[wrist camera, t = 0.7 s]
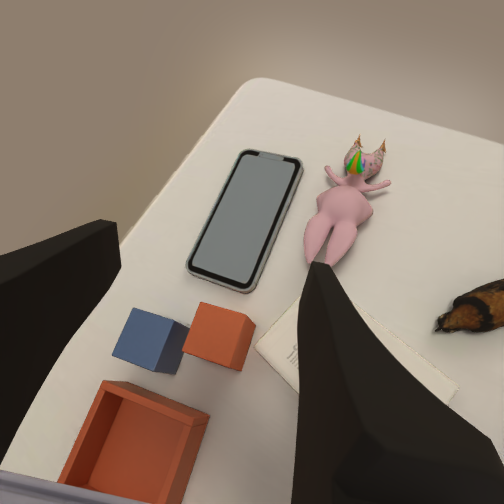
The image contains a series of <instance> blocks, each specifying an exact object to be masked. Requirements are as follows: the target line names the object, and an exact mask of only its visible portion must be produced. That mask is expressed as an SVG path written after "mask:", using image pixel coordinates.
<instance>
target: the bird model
mask: <svg viewBox="0 0 504 504" xmlns="http://www.w3.org/2000/svg"><path fill="white" fill-rule="evenodd" d="M438 324H439V327H438V328H437V329H436V330H435V331H439V330H441V329H442V330H443V331H445V332H452V333H453V332H455V331H458V330H460V329H468V330H470V331H472V332H488V331H491V330H494V329H497V328H499V327H502V326H504V279H502V280H497V281H494V282H491V283H488V284H485V285H483V286H480V287H478V288H476V289H474V290H472V291H470V292H468V293H465V294H463V295H462V296H459V297H457V298H456V299H455V300H454V303H453V310H452V311H451V312H448V313H445V314H442V315H441V316H439V318H438Z"/></svg>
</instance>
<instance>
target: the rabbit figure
mask: <svg viewBox="0 0 504 504" xmlns="http://www.w3.org/2000/svg"><path fill="white" fill-rule="evenodd" d="M384 142H385V140H384ZM384 142H383V144H382V145H381V147H380V148H379V149H378V150H376V151H375V152H373V153H372V154H366V153H362V152H361V150H360V147H362V146H361V143H360V134H359V138H358V140H356V141H355V143H354V145H353V146H352V147H351V149H350V150H349V151H348V153H347V155H346V156H345V159H344V165H345V168H346V170H347V173H348V175H347V176H346V177H344V178H340V177H338V176H336V175H335V174H334V173H333V172H332V170H331V167H330V166H325V171H326V173H327V174H328V176H329V177H330V178H331V179H332V180H333V181H334V182H335V183H336V184H337V185H339V186H336V187H333V188H331V189H329V190H327V191H325V192H323V193H321V194H320V195H318V197H317V199H316V200H317V207H318V214H316V215H315V216H313V217H312V218H311V219H310V220H309V221H308V223H307V226H306V229H305V233H304V252H305V258H306V261H307V262H308V263H309V264H310V263H311V262H312V261H313V259H314V257H315V256H316V255H317V253H318V252H319V250H320V249H321V247H322V245H323V243H324V241H325V240H326V238H327V235H328V233H329V231H330V229H331V228H334V230H333V232H332V235H331V238H330V240H329V243H328V246H327V250H326V256H325V264H329V265H330V267H332V266H333V265H334V264H335V263H336V262H337V261H338V260H339V259H340V258H341V257H342V256H343V255H344V254H345V253H346V252H347V251H348V250H349V248H350V247H351V245H352V244H353V243H354V241H355V239H356V237H357V228H356V227H357V226H358V225H359V224H361V223H362V222H364V221H365V220H366V219H368V218H369V217H370V216H372V214H373V209H372V207H371V205H370V204H369V202H368V201H367V200H366V198H365V197H364V196H363V195H362V193H361V192H369V191H374V190H378V189H381V188H384V187H387V186H389V185H390V184H391V181H390V180H385V181H383V182H382V183H379V184H375V185H369V184H366V183H365V180H366V179H367V178H369V177H371V176H373V175H374V174H376V173H377V172H378V171H379V170H380V168H381V166H382V163H383V151H384V152H385V151H386V149H385V143H384ZM385 153H386V152H385Z"/></svg>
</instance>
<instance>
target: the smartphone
mask: <svg viewBox="0 0 504 504" xmlns="http://www.w3.org/2000/svg"><path fill="white" fill-rule="evenodd" d="M302 172H303V163H302V161H301V160H300V159H299V158H296V157H291V156H286V155H280V154H275V153H270V152H265V151H259V150H254V149H245V150H243V151H241V152H240V153H239V155H238V157H237V159H236V161H235V163H234V165H233V167H232V169H231V171H230V173H229V175H228V177H227V179H226V181H225V183H224V185H223V187H222V189H221V191H220V193H219V195H218V197H217V200H216V202H215V204H214V206H213V208H212V210H211V212H210V214H209V216H208V218H207V220H206V222H205V224H204V226H203V228H202V230H201V232H200V234H199V236H198V238H197V240H196V242H195V244H194V246H193V248H192V250H191V252H190V255H189V257H188V259H187V261H186V269H187V271H188V272H189V273H190V274H192V275H194V276H196V277H199V278H202V279H205V280H207V281H210V282H213V283H216V284H219V285H221V286H224V287H227V288H230V289H232V290H235V291H238V292H241V293H249V292H251V291H252V290H253V289H254V288H255V286H256V284H257V282H258V279H259V277H260V274H261V272H262V270H263V267H264V265H265V262H266V260H267V257H268V255H269V252H270V250H271V248H272V245H273V243H274V240H275V238H276V235H277V233H278V230H279V228H280V226H281V223H282V221H283V218H284V216H285V213H286V211H287V209H288V206H289V204H290V201H291V199H292V196H293V194H294V191H295V189H296V187H297V184H298V182H299V179H300V177H301V174H302Z"/></svg>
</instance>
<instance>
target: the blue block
mask: <svg viewBox="0 0 504 504" xmlns="http://www.w3.org/2000/svg"><path fill="white" fill-rule="evenodd" d="M189 330H190V328H188V327H186V326H184V325H182V324H180V323H178V322H176V321H174V320H171V319H168V318H165V317H162V316H159V315H156V314H153V313H149V312H146V311H143V310H140V309H137V308H133V309H132V311H131V313H130V315H129V317H128V320H127V322H126V324H125V326H124V329H123V331H122V333H121V335H120V337H119V340H118V342H117V344H116V346H115V348H114V351H113V353H112V356H114V357H117V358H119V359H122V360H125V361H127V362H130V363H132V364H135V365H138V366H140V367H143V368H146V369H148V370H151V371H154V372H161V373H168V374H176V371H177V368H178V366H179V363H180V361H181V358H182V355H183V353H184V352H182V349H183V346H184V343H185V341H186V338H187V335H188V333H189Z"/></svg>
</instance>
